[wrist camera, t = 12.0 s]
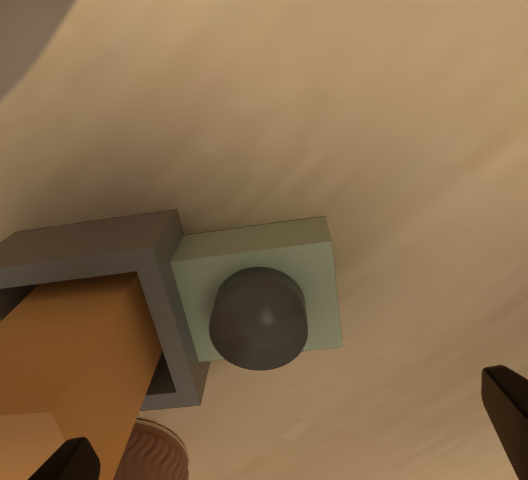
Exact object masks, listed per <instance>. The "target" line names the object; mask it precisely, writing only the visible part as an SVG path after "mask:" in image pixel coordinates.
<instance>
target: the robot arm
mask: <svg viewBox="0 0 528 480" xmlns="http://www.w3.org/2000/svg"><path fill="white" fill-rule="evenodd" d="M481 395H482V401H483V404H484V407H485V409H486V411H487V413H488V415H489V417H490V420H491V422H492V424H493V426H494V428H495V430H496V432H497V435H498V437H499V439H500V441H501V443H502V445H503V447H504V450H505V452H506V454H507V456H508V458H509V460H510V462H511V465H512V467H513V469H514V471H515V473H516V475H517V477H518V479H519V480H528V380H527V379H526V378H524V377H522V376H521V375H519V374H518V373H516V372H514V371H513V370H511V369H509V368H508V367H506V366H503V365H496V366H491V367H485V368H483V370H482V389H481ZM100 470H101V464H100V460H99V457H98V456H97V454H96V452H95V450H94V449H93V447H92V445H91V443H90V442H89V440H88V439H87V438H86V437H78V438H72V439H68V440H67V441H65V442H64V443H63V444H62V445H61V446H60V447H59V448H58V449H57V450H56V451H55V452H54V453H53V454H52V455H51V456H50V457H49V458H48V459H47V460H46V461H45V462H44V463H43V464H42V465H41V466H40V467H39V468H38V469H37V470H36V471H35V472H34V473H33V474H32V476H31V477H30V478H29V479H28V480H99V476H100Z"/></svg>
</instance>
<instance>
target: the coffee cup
mask: <svg viewBox="0 0 528 480" xmlns="http://www.w3.org/2000/svg"><path fill="white" fill-rule="evenodd" d="M188 474H189V472H188V455H187V452H186V449H185V447H184V445H183V443H182V442H181V441H180V440H179V438H178V437H177V436H176V435H174V434H173V433H172V432H171V431H169V430H168V429H166V428H164V427H162V426H160V425H158V424H155V423H153V422H148V421H144V420H136V421H135V424H134V426H133V429H132V431H131V434H130V437H129V439H128V442H127V444H126V447H125V450H124V452H123V455H122V457H121V460H120V463H119V465H118V468H117V470H116V473H115V476H114V478H113V480H188Z"/></svg>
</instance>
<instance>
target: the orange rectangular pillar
mask: <svg viewBox="0 0 528 480" xmlns="http://www.w3.org/2000/svg"><path fill="white" fill-rule="evenodd" d="M162 351H163V350H162V347H161V343H160V340H159V337H158V334H157V331H156V328H155V325H154V322H153V319H152V316H151V313H150V310H149V307H148V304H147V301H146V298H145V295H144V292H143V289H142V286H141V283H140V280H139V277H138V274H137V271H135V272H127V273H120V274H112V275H104V276H96V277H88V278H81V279H73V280H65V281H57V282H49V283H42V284H38V285H37V286H36V287H35V288H34V289H33V290H32V291H31V292H30V293H29V294H28V295H27V296H26V297H25V298H24V299H23V300H22V301H21V302H20V303H19V304H18V305H17V306H16V307H15V308H14V309H13V310H12V311H11V312H10V313H9V314H8V315H7V316H6V317H5V318H4V319H3V320H2V321H1V322H0V480H28V479H29V478H30V477H31V476H32V474H33V473H34V472H35V471H36V470H37V469H38V468H39V467H40V466H41V465H42V464H43V463H44V462H45V461H46V460H47V459H48V458H49V457H50V456H51V455H52V454H53V453H54V452H55V451H56V450H57V449H58V448H59V447H60V446H61V445H62V444H63V443H64V442H65V441H67V440H68V439H72V438H78V437H86V438H87V439H88V440H89V442H90V443H91V445H92V447H93V449H94V450H95V452H96V454H97V456H98V457H99V460H100V464H101V470H100V476H99V480H113V478H114V476H115V473H116V470H117V468H118V465H119V463H120V460H121V457H122V455H123V452H124V450H125V447H126V444H127V442H128V439H129V437H130V434H131V431H132V429H133V426H134V424H135V421H136V418H137V416H138V413H139V411H140V408H141V405H142V403H143V400H144V397H145V395H146V392H147V390H148V387H149V384H150V382H151V379H152V377H153V374H154V371H155V369H156V366H157V364H158V361H159V358H160V356H161V353H162Z"/></svg>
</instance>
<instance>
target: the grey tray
mask: <svg viewBox="0 0 528 480" xmlns="http://www.w3.org/2000/svg"><path fill="white" fill-rule="evenodd" d="M135 271H137V274H138V277H139V280H140V283H141V286H142V289H143V292H144V295H145V298H146V301H147V304H148V307H149V310H150V313H151V316H152V319H153V322H154V325H155V328H156V331H157V334H158V337H159V340H160V343H161V347H162V350H163V351H162V353H161V356H160V358H159V361H158V364H157V366H156V369H155V371H154V374H153V377H152V379H151V382H150V384H149V387H148V390H147V392H146V395H145V397H144V400H143V403H142V405H141V408H140V411H146V410H156V409H167V408H178V407H188V406H199V405H201V401H202V397H203V392H204V387H205V383H206V378H207V374H208V369H209V365H210V361H214V360H224V359H226V360H227V361H229V362H230V363H232V364H234V365H236V366H239V367H241V368H245V369H250V370H270V369H275V368H278V367H281V366H284V365H286V364H287V363H289V362H291V361H292V360H294V359H295V358H296V357H297V356H298V355H299V354H300V353H301V351H310V350H320V349H329V348H339V347H343V345H342V335H341V325H340V316H339V306H338V296H337V287H336V277H335V267H334V258H333V248H332V240H331V236H330V232H329V229H328V225H327V221H326V217H325V216H323V217H316V218H309V219H301V220H294V221H287V222H279V223H272V224H264V225H257V226H250V227H242V228H235V229H228V230H220V231H213V232H205V233H198V234H191V235H183V231H182V227H181V223H180V220H179V216H178V212H177V209H175V210H168V211H161V212H154V213H147V214H140V215H133V216H126V217H119V218H112V219H105V220H98V221H91V222H84V223H77V224H69V225H62V226H55V227H48V228H41V229H34V230H27V231H20V232H15V233H13V234H12V235H10V236H9V237H7V238H6V239H5V240H3V241H2V242H0V322H1V321H2V320H3V319H4V318H5V317H6V316H7V315H8V314H9V313H10V312H11V311H12V310H13V309H14V308H15V307H16V306H17V305H18V304H19V303H20V302H21V301H22V300H23V299H24V298H25V297H26V296H27V295H28V294H29V293H30V292H31V291H32V290H33V289H34V288H35V287H36V286H37V285H38V284H42V283H49V282H57V281H65V280H73V279H81V278H88V277H96V276H104V275H112V274H120V273H127V272H135Z"/></svg>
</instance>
